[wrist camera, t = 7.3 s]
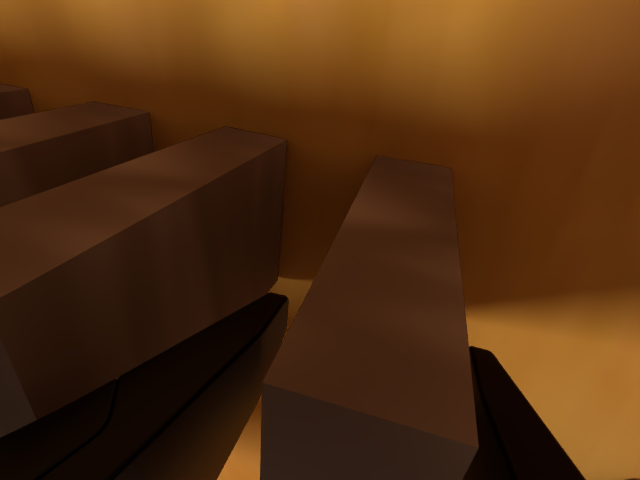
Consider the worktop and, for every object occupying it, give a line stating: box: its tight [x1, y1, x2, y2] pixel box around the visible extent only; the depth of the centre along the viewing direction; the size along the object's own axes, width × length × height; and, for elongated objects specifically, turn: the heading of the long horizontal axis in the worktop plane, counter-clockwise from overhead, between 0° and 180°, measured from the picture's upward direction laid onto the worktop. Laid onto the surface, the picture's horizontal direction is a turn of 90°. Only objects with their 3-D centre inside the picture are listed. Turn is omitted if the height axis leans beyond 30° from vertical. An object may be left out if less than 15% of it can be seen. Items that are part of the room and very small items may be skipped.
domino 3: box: [260, 155, 479, 480], centre depth 8 cm, size 2×5×8 cm, turn 174°
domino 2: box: [0, 126, 287, 437], centre depth 9 cm, size 2×5×8 cm, turn 174°
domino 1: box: [0, 102, 154, 207], centre depth 10 cm, size 2×5×8 cm, turn 173°
